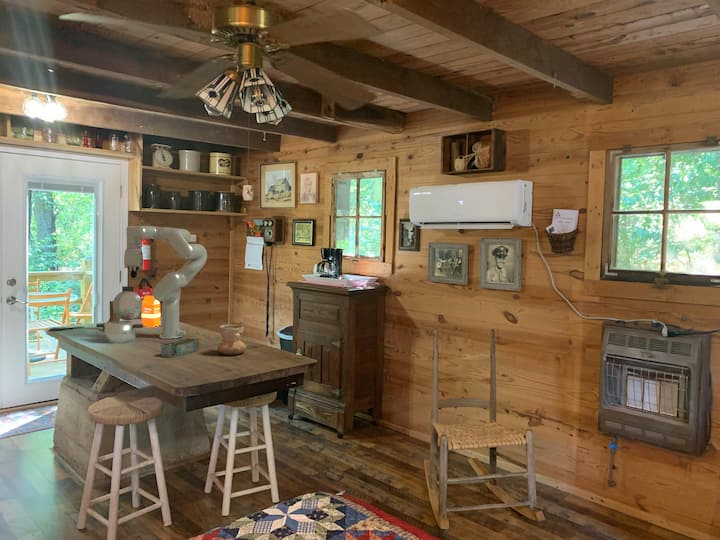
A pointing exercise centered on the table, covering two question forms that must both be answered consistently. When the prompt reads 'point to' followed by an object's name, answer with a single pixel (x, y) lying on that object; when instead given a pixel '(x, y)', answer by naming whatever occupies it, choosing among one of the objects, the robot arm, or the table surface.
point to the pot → (120, 331)
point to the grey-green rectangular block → (180, 347)
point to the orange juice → (150, 312)
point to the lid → (127, 304)
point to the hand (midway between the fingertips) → (133, 277)
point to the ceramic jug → (231, 340)
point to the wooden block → (112, 314)
